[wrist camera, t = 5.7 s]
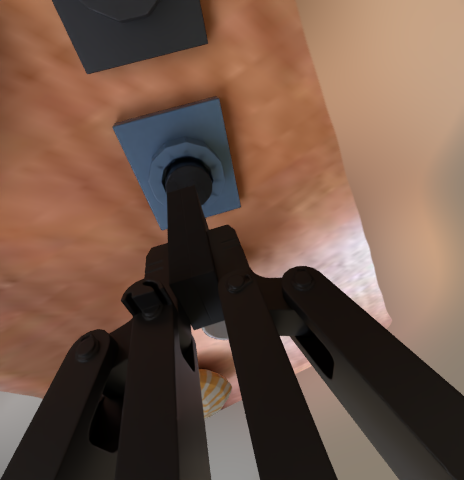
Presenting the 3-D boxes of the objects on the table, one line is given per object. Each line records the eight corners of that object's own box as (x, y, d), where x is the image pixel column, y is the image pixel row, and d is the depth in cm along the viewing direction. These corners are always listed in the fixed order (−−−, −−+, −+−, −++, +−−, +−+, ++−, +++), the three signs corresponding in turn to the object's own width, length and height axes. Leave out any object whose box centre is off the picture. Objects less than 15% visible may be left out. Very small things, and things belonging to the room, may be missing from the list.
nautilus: (178, 404, 65) (130, 390, 56) (244, 370, 58) (200, 349, 50) (177, 441, 58) (122, 432, 50) (250, 408, 52) (202, 391, 44)
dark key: (158, 165, 24) (158, 173, 22) (203, 152, 24) (205, 159, 22) (173, 204, 26) (174, 213, 25) (214, 192, 27) (217, 201, 25)
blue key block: (114, 122, 23) (108, 132, 21) (216, 95, 24) (223, 101, 21) (161, 223, 31) (161, 240, 28) (238, 201, 32) (245, 216, 29)
